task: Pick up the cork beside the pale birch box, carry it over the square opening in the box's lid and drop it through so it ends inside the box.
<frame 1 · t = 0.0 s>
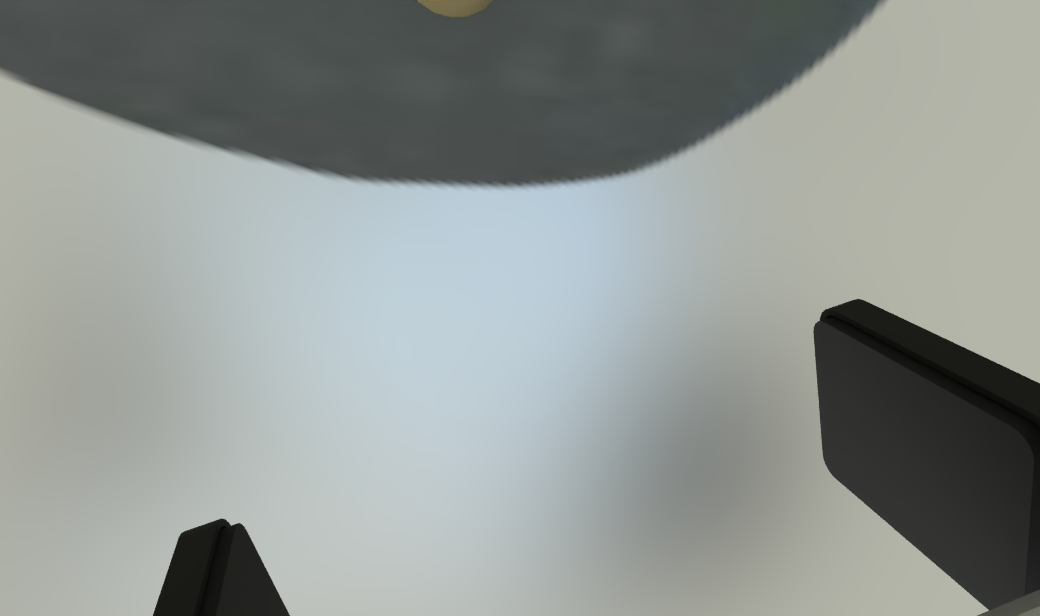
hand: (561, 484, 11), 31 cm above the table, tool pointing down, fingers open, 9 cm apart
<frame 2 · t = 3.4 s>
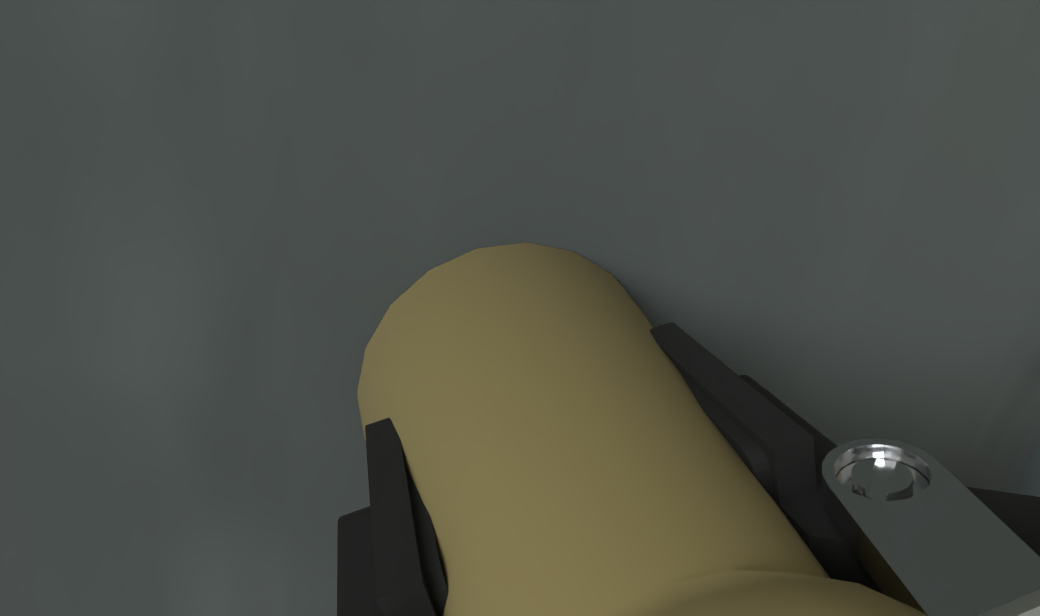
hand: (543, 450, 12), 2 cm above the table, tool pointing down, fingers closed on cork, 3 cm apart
cork: (510, 385, 14), on the table, touching gripper
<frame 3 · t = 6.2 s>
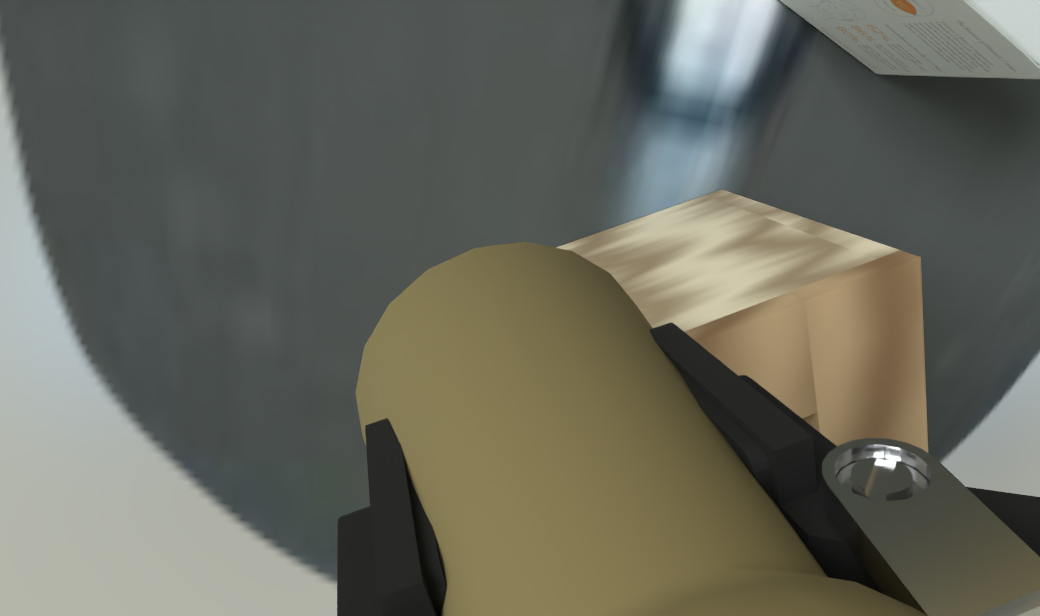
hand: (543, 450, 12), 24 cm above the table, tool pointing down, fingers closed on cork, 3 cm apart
cork: (508, 384, 14), point 21 cm above the table, touching gripper
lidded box: (605, 385, 40), on the table
when the fingers open (17 cm above the table, at t = 9.1 s): cork drops 13 cm, resting on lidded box.
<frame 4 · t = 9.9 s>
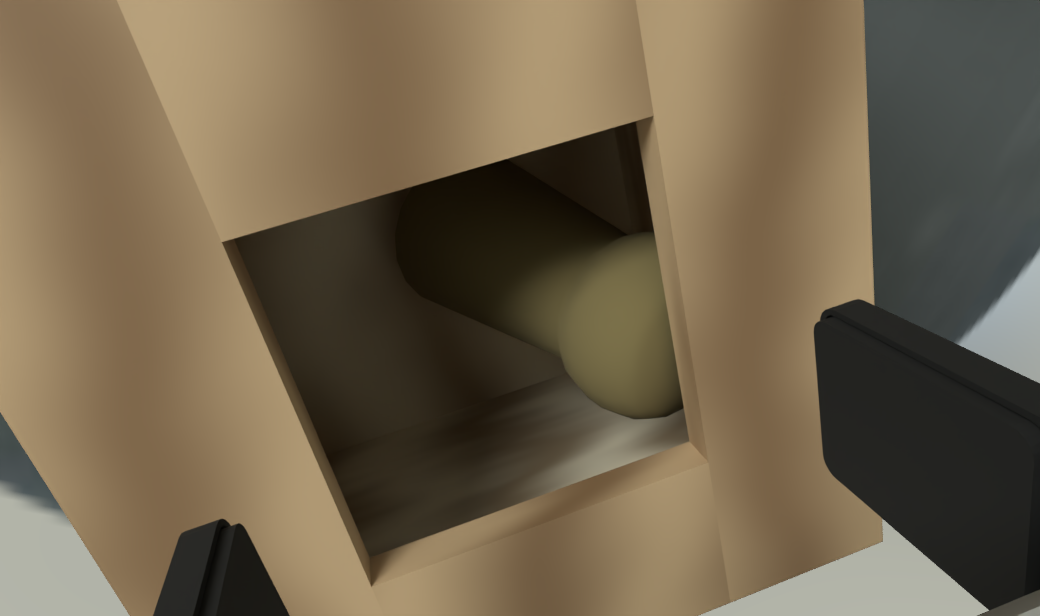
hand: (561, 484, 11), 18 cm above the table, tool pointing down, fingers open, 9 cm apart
cork: (464, 228, 26), point 2 cm above the table, touching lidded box
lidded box: (426, 221, 27), on the table
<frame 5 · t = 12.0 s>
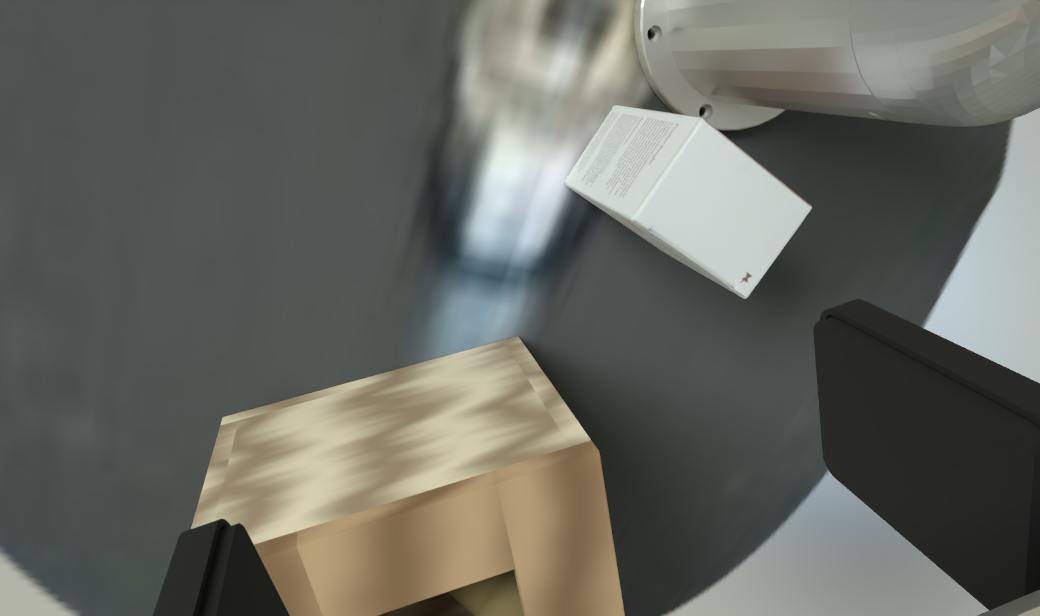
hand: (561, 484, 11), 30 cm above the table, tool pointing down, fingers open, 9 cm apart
cork: (433, 510, 43), point 2 cm above the table, touching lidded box
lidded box: (410, 495, 45), on the table
small box: (634, 178, 42), on the table
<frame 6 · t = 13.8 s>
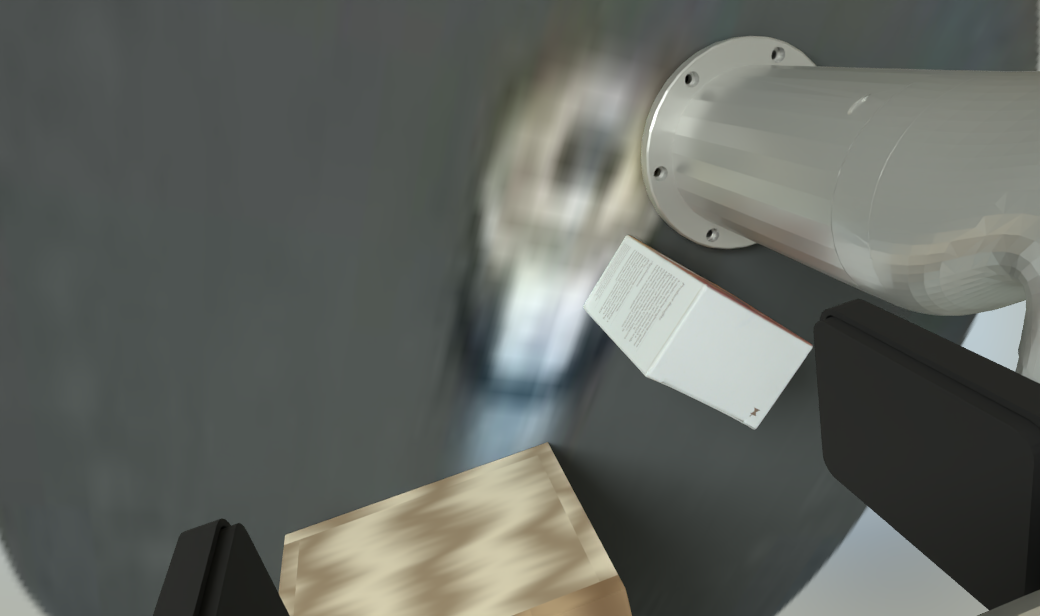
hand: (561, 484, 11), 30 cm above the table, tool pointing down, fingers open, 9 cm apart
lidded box: (456, 587, 49), on the table
small box: (649, 294, 45), on the table
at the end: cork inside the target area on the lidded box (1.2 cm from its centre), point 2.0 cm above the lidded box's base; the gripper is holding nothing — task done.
